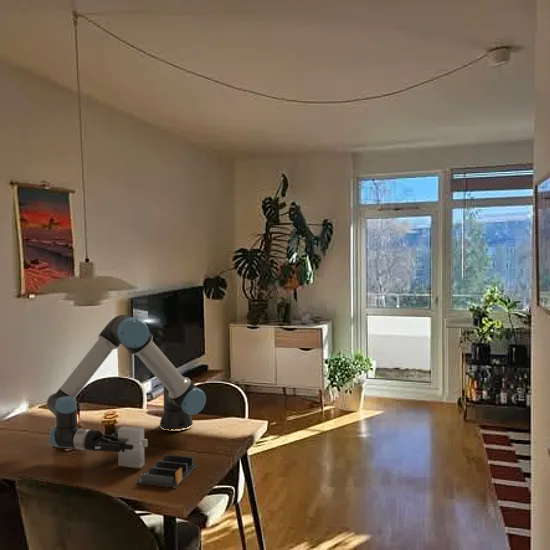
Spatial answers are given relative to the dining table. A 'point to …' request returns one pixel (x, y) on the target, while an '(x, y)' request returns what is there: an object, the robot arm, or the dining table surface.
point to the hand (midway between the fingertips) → (144, 445)
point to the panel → (130, 456)
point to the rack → (168, 471)
